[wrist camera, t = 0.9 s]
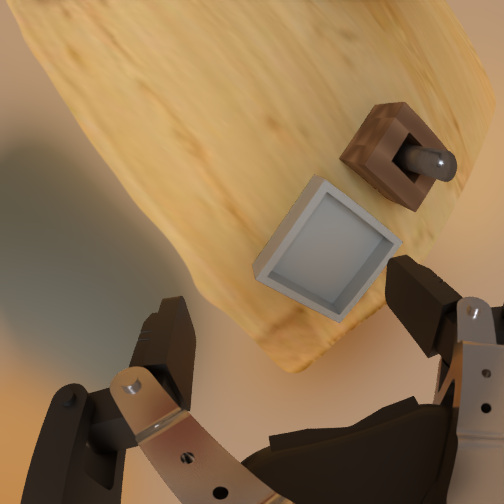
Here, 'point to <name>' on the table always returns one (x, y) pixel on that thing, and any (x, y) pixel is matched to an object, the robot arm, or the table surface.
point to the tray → (325, 251)
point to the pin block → (391, 153)
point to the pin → (426, 161)
